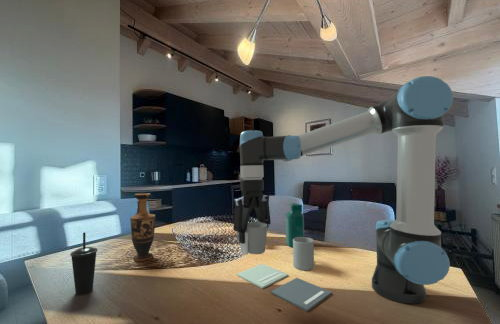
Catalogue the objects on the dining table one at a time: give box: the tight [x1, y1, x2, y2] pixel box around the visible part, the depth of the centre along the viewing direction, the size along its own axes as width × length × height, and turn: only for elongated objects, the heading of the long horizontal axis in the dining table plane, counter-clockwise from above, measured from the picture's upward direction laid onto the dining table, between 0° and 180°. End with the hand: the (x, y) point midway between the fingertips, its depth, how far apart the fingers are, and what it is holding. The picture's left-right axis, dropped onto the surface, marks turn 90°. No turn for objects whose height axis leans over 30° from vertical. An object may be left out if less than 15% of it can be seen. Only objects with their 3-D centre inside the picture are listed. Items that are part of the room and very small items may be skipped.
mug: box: [292, 236, 315, 272], centre depth 101 cm, size 12×8×11 cm
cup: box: [236, 221, 268, 255], centre depth 77 cm, size 8×10×8 cm
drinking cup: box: [70, 232, 98, 296], centre depth 82 cm, size 8×8×20 cm
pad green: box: [236, 263, 289, 290], centre depth 91 cm, size 14×14×1 cm
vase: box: [129, 192, 156, 262], centre depth 111 cm, size 11×11×30 cm
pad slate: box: [270, 277, 333, 312], centre depth 78 cm, size 14×14×1 cm
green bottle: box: [284, 202, 305, 248], centre depth 127 cm, size 10×8×22 cm
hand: (253, 249), depth 77 cm, fingers closed on cup, 7 cm apart
